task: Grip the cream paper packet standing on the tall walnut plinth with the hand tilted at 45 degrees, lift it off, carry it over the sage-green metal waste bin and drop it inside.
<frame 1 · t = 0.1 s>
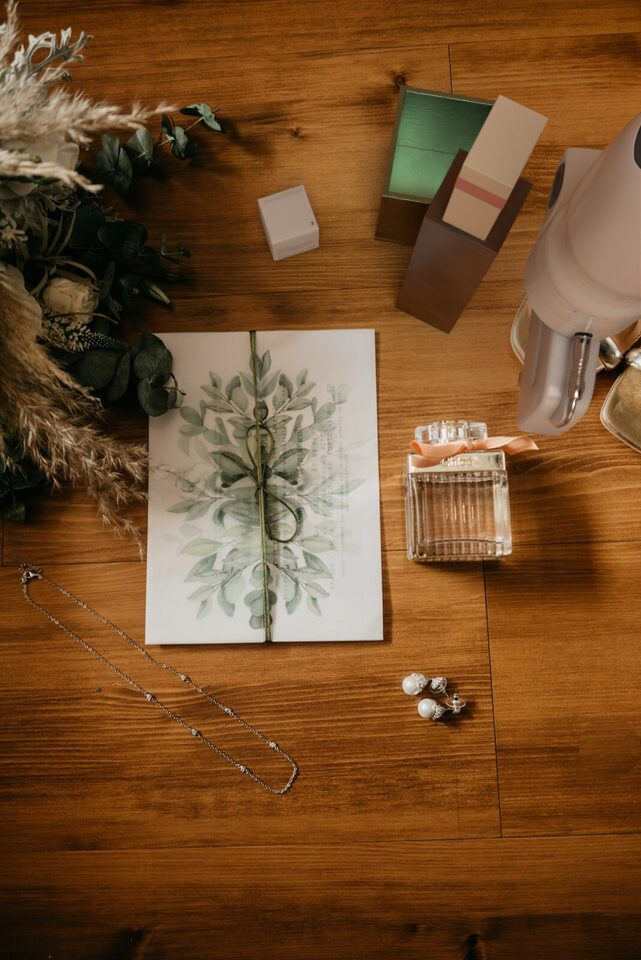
hand: (534, 331, 63), 20 cm above the table, tool pointing down, fingers open, 8 cm apart
small box: (289, 233, 84), on the table
packet: (478, 200, 61), point 23 cm above the table, touching plinth
bin: (433, 198, 85), on the table
plinth: (435, 295, 84), on the table
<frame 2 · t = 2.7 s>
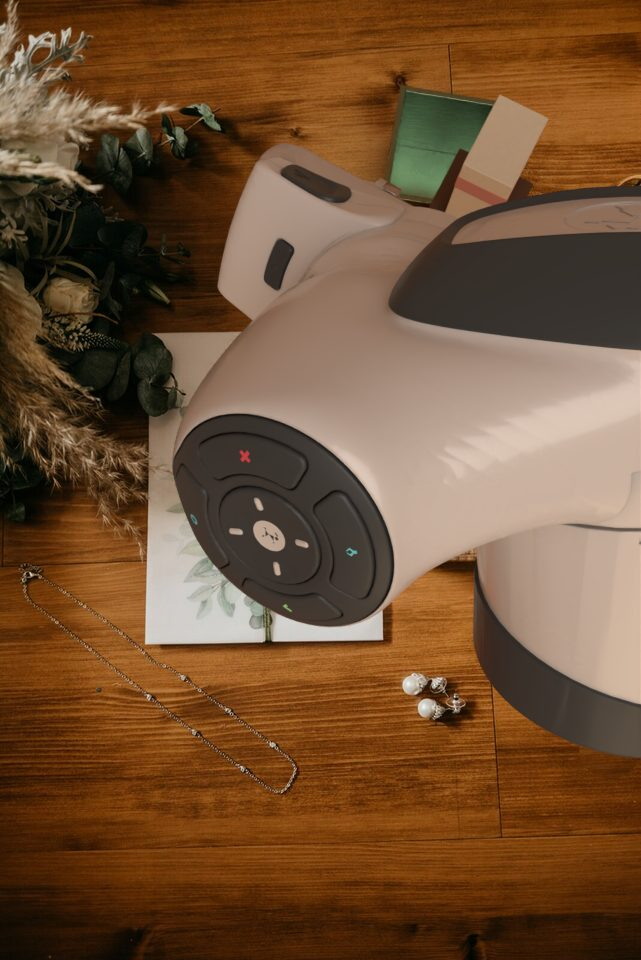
hand: (456, 233, 42), 41 cm above the table, tool tilted 45°, fingers open, 8 cm apart
nothing on the table moved.
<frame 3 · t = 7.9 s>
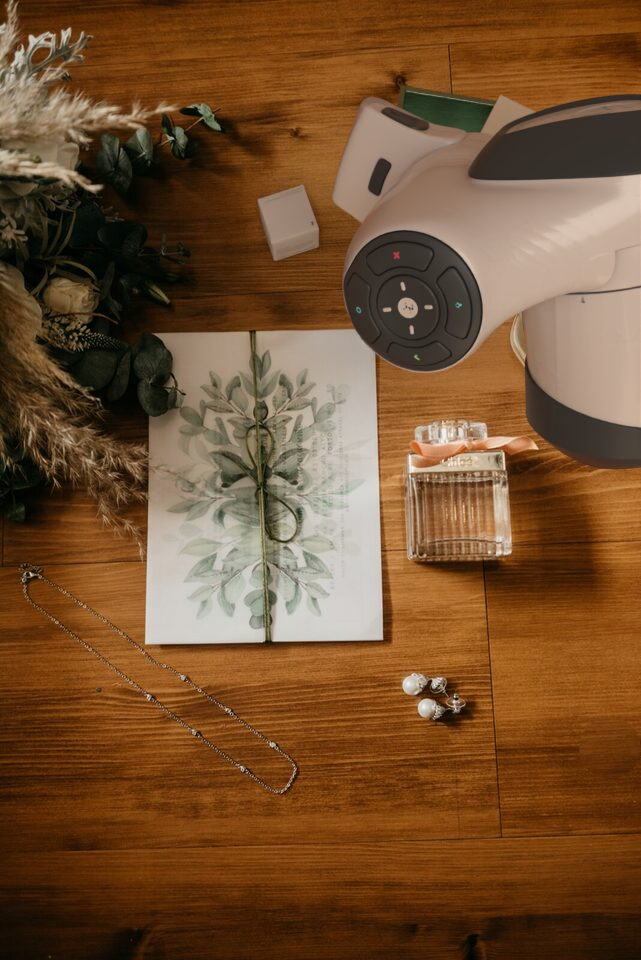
hand: (496, 163, 56), 28 cm above the table, tool tilted 45°, fingers closed on packet, 4 cm apart
packet: (479, 200, 61), point 23 cm above the table, touching gripper, plinth
everything else where it was.
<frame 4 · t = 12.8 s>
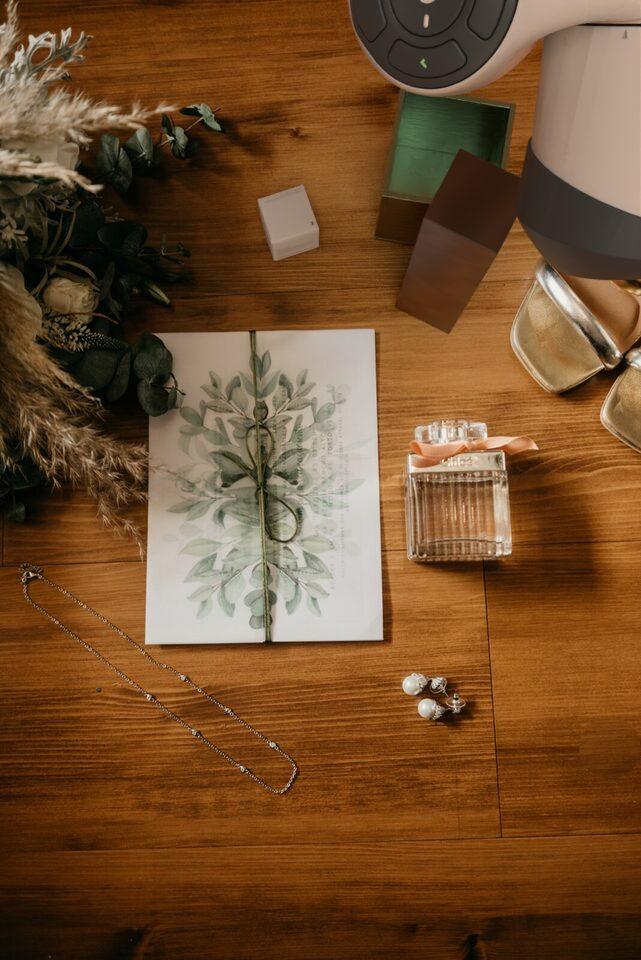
packet: (495, 29, 55), point 30 cm above the table, touching gripper
everything else where it was.
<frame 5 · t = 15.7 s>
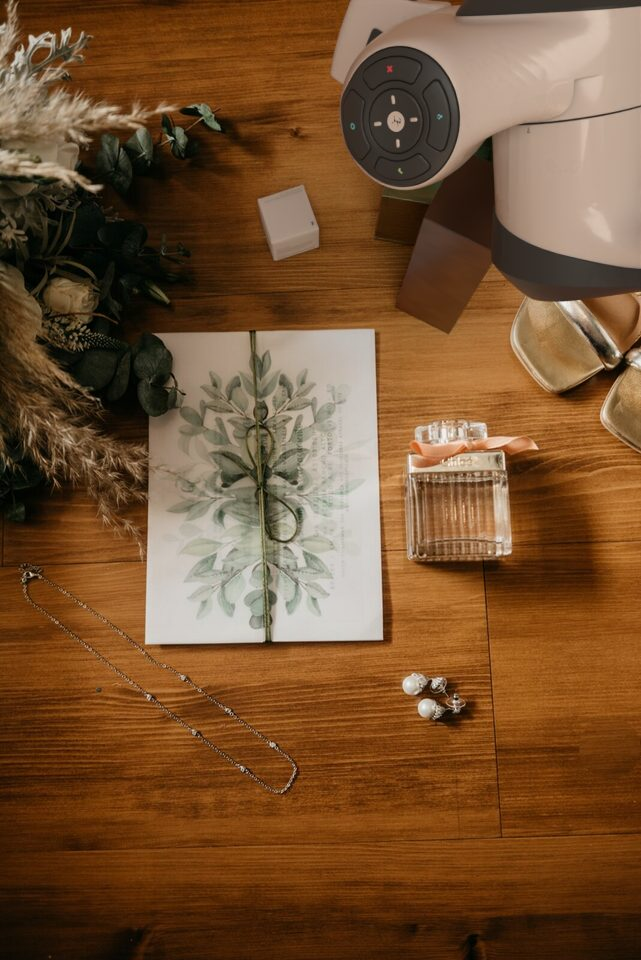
hand: (480, 58, 61), 24 cm above the table, tool tilted 45°, fingers closed on packet, 4 cm apart
packet: (465, 100, 66), point 19 cm above the table, touching gripper
everything else where it was.
when the fingers open (17 cm above the table, at t = 18.0 s): packet drops 12 cm, resting on bin.
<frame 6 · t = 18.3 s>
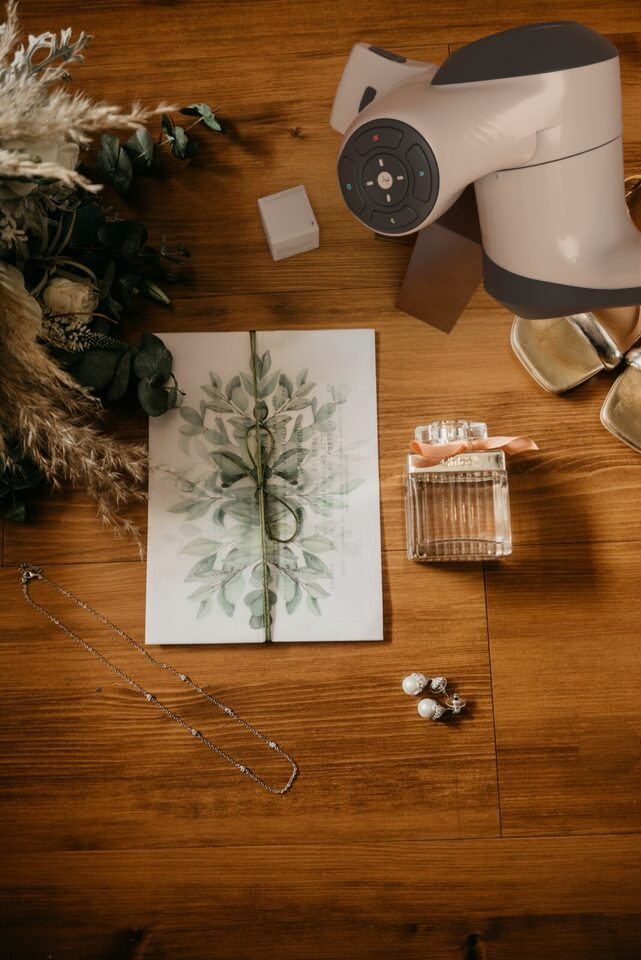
hand: (466, 103, 67), 17 cm above the table, tool tilted 45°, fingers open, 7 cm apart
packet: (435, 196, 84), point 1 cm above the table, touching bin
everything else where it was.
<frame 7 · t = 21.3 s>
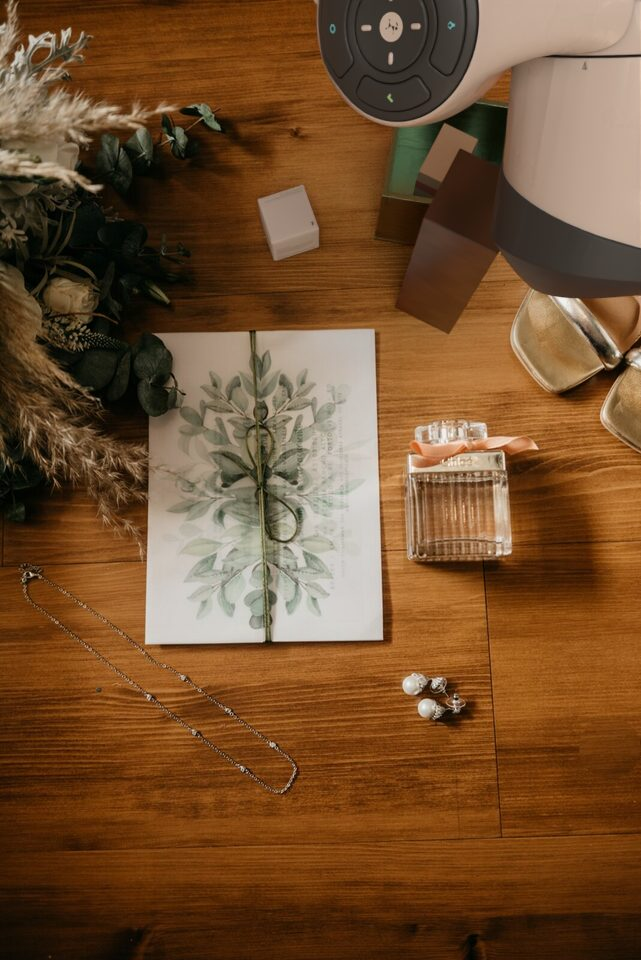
nothing on the table moved.
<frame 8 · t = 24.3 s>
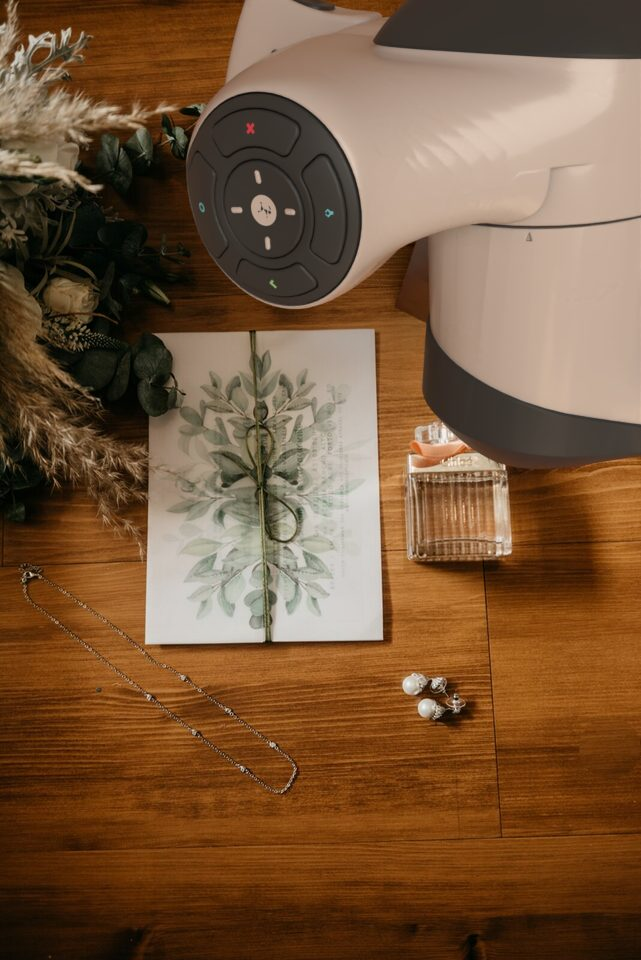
hand: (439, 83, 46), 37 cm above the table, tool tilted 45°, fingers open, 8 cm apart
nothing on the table moved.
at the end: packet inside the target area in the bin (0.1 cm from its centre), point 0.6 cm above the bin's base; the gripper is holding nothing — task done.
